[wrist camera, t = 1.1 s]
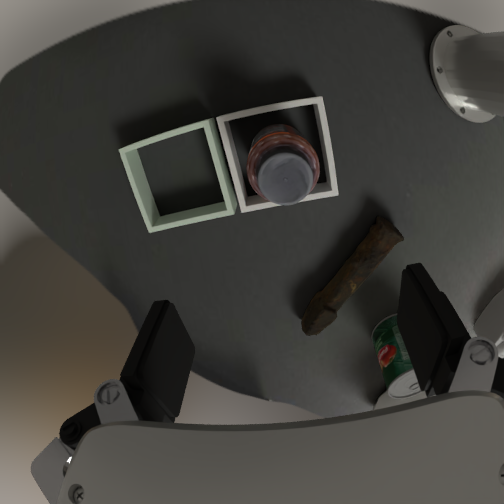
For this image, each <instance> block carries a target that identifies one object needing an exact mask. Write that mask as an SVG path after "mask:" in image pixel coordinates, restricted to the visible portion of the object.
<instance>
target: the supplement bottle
mask: <svg viewBox="0 0 504 504" xmlns="http://www.w3.org/2000/svg"><path fill="white" fill-rule="evenodd" d="M246 167H247V176H248V180H249V182H250V184H251V186H252V188H253V189H254V190H255V192H256V193H257V194H258V195H260V196H261V197H262V198H264V199H266V200H268V201H270V202H273V203H275V204H279V205H292V204H295V203H298V202H299V201H301V200H302V199H304V198H305V197H306V196H307V195H308V194H309V193H310V192H311V191H312V190H313V188H314V187H315V185H316V183H317V181H318V178H319V173H320V165H319V160H318V157H317V154H316V152H315V150H314V149H313V147H312V146H311V145H310V143H309V142H308V141H307V140H306V139H305V138H304V136H303V135H302V134H301V133H300V132H299V131H298V130H296V129H295V128H293V127H291V126H288V125H285V124H273V125H270V126H267V127H265V128H263V129H262V130H261V131H260V132H259V133H258V134H257V135H256V136H255V138H254V140H253V142H252V145H251V149H250V152H249V156H248V160H247V166H246Z"/></svg>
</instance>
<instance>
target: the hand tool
mask: <svg viewBox="0 0 504 504" xmlns="http://www.w3.org/2000/svg"><path fill="white" fill-rule="evenodd" d="M403 240H404V237H403V236H402V234H401V233H400V232H399V230H398V229H397V228H396V227H395V226H394V225H393V224H391V223H390V222H389V221H387V220H386V219H385V218H382V217H380V216H377V218H376V224H375V225H372V226H370V232H369V233H368V234H367V236H366V237H365V239H364V240H363V241H362V242H361V243H360V244H359V246H358V247H357V248H356V251H355V252H354V253H353V254H352V255H351V257H350V258H349V259H347V260H346V262H345V264H344V265H343V266H342V268H341V269H340V270H339V271H338V273H337V274H336V275H335V276H334V278H333V279H332V280H331V281H330V282H329V283H328V284H327V286H326V287H325V288H324V289H323V290H322V291H319V292H317V293H316V294H315V296H314V297H313V299H312V300H311V302H310V304H309V306H308V307H307V309H306V311H305V313H304V316H303V318H302V322H301V324H302V330H303V332H304V333H305V334H306V335H308V336H310V335H317V334H319V333H320V332H321V331H322V330H323V329H324V328H326V327H327V326H328V325H330V324H331V323H332V322H333V321H334V320H335V319H336V317H337V311H338V310H339V309H340V308H341V307H342V305H343V304H344V303H345V302H346V300H347V299H348V298H349V297H350V296H351V295H352V294H353V293H354V292H355V291H356V290H357V289H358V288H359V287H360V286H361V285H362V284H363V282H364V281H365V280H366V279H367V278H368V277H369V276H370V274H371V273H372V272H373V271H374V270H375V269H376V268H377V266H378V265H379V264H380V263H381V262H382V260H383V259H384V258H385V256H386V255H387V254H388V253H389V252H390V250H392V248H393V247H394V246H395V245H396V244H397V243H398V242H401V241H403Z"/></svg>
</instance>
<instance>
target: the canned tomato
mask: <svg viewBox="0 0 504 504" xmlns="http://www.w3.org/2000/svg"><path fill="white" fill-rule="evenodd" d="M397 314H398V313H396V314H392V315H390V316H388V317H386V318H384V319H383V320H381V321H380V322H379V323H378V324H377V325H376V326H375V328H374V329H373V332H372V336H371V338H372V341H373V344H374V347H375V350H376V353H377V357H378V360H379V364H380V367H381V370H382V373H383V377H384V380H385V384H386V387H387V391H388V395H389V396H390V397H391V398H394V399H404V398H408V397H412V396H414V395H417V394H419V393H421V392H422V391H421V389H420V386H419V383H418V380H417V377H416V375H415V372H414V369H413V366H412V363H411V360H410V358H409V355H408V352H407V349H406V347H405V344H404V342H403V339H402V336H401V334H400V331H399V329H398V326H397Z"/></svg>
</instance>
